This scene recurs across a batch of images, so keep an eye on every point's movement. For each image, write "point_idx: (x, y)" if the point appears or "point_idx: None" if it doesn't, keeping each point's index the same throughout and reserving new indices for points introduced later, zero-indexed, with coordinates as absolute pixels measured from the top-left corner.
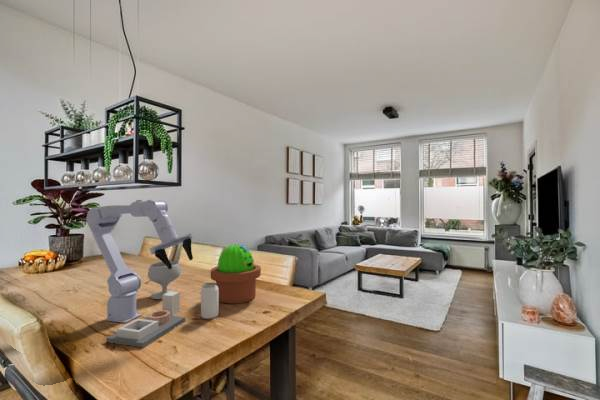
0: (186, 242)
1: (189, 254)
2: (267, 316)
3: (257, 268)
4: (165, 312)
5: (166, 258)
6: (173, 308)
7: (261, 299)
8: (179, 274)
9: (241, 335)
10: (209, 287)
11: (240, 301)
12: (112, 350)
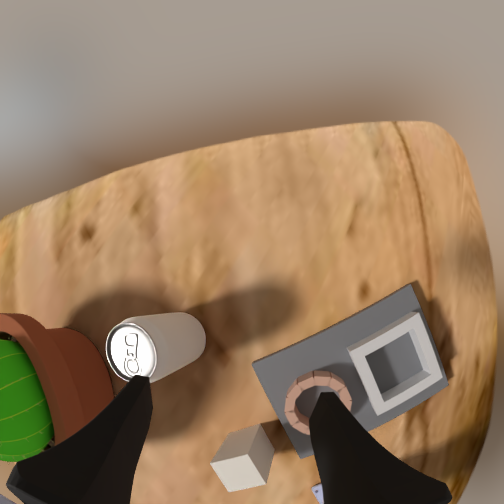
0: (79, 486)
1: (136, 409)
2: (102, 208)
3: None
4: (294, 410)
5: (366, 446)
6: (250, 434)
7: (49, 310)
8: None
9: (205, 163)
10: (144, 330)
11: (83, 336)
12: (450, 327)
